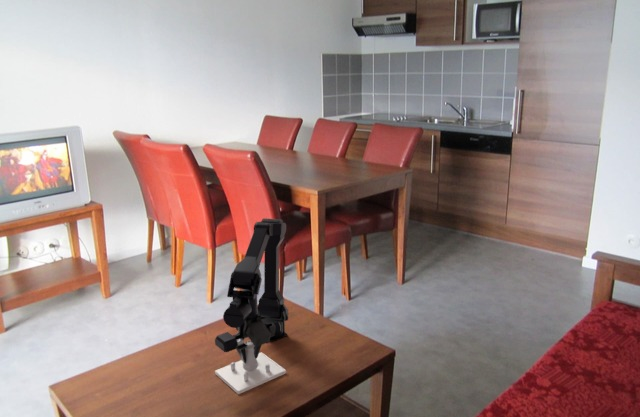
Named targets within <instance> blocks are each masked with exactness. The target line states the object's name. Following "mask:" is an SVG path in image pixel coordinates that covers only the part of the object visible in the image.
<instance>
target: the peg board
mask: <svg viewBox="0 0 640 417" xmlns="http://www.w3.org/2000/svg"><path fill="white" fill-rule="evenodd" d="M256 360H257V362H258V367H257V368H256V369H255V370H253V371H246V370H245V369H244V368H243V361H242V359H240V360H238V361H236V362H235V361H233V362H230V364H228V365H226V366H223V367H221V368H219V369H216V370H214V374H215V375H216V376H217V377H218V378H219V379H220V380H221V381H223V382H224V383H225V384H226V385H227V386H228V387H230V388H231V389H232V390H233V391H234V392H235V393H236V395H240V394H242V393H245V392H248V391H250V390H251V389H252V390H253V388H256V387H258V386H261V385H263V384H264V383H265V384H266V383H267V382H269V381H271V380H274V379H276V378H279V377H281V376H283V375H286V374H287V370H286V369H285V368H284V367H283V366H281V365H279V364H278V363H277V362H276V361H274V360H273V359H271V358H270V357H269V356H267V355H266V354H265V353H263V352H260V351H259V354H258V357H257V358H256Z"/></svg>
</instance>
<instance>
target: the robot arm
mask: <svg viewBox="0 0 640 417" xmlns="http://www.w3.org/2000/svg"><path fill="white" fill-rule="evenodd" d="M286 232H287V224H286V222H284V221H283V219H280V218H262V219H261V221H256V222H255V223H254V225H253V233H252V236H251V239H250V241H249V244H248V247H247V250H246V251H245V254H244V257H243V259H241V261H239V262H237V264H236V266H235V267H234V269H233V271H232V272H231V275H230V279H229V284H228V290H227V295H226V296H227V298H232V301H230V302H229V306H228V307H227V308H226V309H225V310H224V312H223V316H222V318H223V321H224V323H225V324H226V325H227V327H230V328H233V329H235V330H236V331H238V332H237V333H235V334H232V333H230V332H229V331H227V332H223V333H221V334H218V335H216V337H215V338H214V346H216V347H218V348H219V349H220V350H221V351H222V352H224V353H229V352H231V351H233V350H236V351H237V354H238V356H239V357H240V360H242V361H243V362H244V363H246V351H245V348H246V347H247V345H246V344H245V340H246V339H249V341H250V342H251V341H252V343H253V344H254V346H255V347H254V356H255V358H257V357H258V354H259V353H260V351H261V347H262V346H263V345H265V344H268V343H269V342H275V341H278V340H280V339H283V338H286V337H288V335H289V334H288V333H286V329H285V326H286V325H285V323H286V321H289V309H288V307H287V306H286V304H285V298H284V296H283V294H282V293H281V291H280V245H281V244H282V242H283V241H284V239H285V235H286ZM263 257H264V267H263V268H264V271H263V272H264V274H263V276H264V286H263V287H264V288H263V289H264V291H263V293H262V294H261V296H260V298H259V299H258V295H259V292H260V289H261V285H262V280H263V279H262V273H261V271H260V266H261V262H262V260H263ZM234 289H237V290H234Z"/></svg>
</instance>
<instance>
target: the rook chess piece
mask: <svg viewBox="0 0 640 417" xmlns="http://www.w3.org/2000/svg"><path fill="white" fill-rule="evenodd" d="M244 344H246V345H247V347H246V348H245V351H246V363H244V362H243V368H244V369H245V370H246V371H253V370H255V369H256V368H257V367H258V362H257V360H256V358H255V356H254V347H255V346H254V344H253V343H252V341H251V340H246V341H244Z"/></svg>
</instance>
